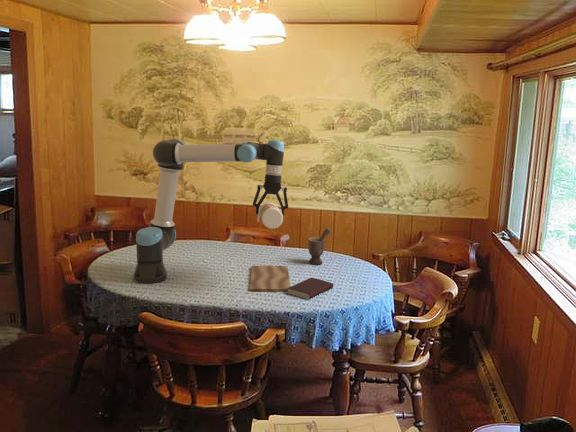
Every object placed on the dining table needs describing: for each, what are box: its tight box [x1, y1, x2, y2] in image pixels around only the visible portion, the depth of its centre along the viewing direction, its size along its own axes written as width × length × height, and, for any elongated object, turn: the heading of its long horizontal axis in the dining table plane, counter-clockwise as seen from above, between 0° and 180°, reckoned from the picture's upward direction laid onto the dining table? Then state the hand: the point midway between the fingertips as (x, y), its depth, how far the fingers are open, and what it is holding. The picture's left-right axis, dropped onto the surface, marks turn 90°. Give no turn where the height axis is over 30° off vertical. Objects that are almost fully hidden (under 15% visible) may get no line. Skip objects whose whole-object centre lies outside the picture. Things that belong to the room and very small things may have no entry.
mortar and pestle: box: [307, 227, 332, 266], centre depth 279 cm, size 12×9×20 cm
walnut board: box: [249, 265, 292, 293], centre depth 253 cm, size 18×36×1 cm, turn 3°
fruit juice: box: [259, 201, 284, 230], centre depth 247 cm, size 9×9×28 cm
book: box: [286, 277, 334, 300], centre depth 238 cm, size 12×19×3 cm, turn 144°
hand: (268, 222), depth 249 cm, fingers closed on fruit juice, 9 cm apart
